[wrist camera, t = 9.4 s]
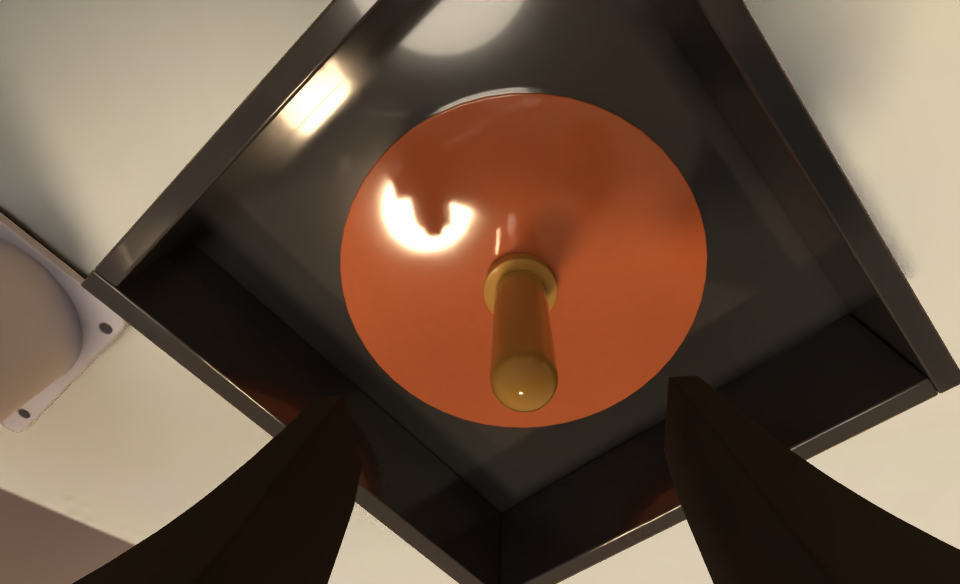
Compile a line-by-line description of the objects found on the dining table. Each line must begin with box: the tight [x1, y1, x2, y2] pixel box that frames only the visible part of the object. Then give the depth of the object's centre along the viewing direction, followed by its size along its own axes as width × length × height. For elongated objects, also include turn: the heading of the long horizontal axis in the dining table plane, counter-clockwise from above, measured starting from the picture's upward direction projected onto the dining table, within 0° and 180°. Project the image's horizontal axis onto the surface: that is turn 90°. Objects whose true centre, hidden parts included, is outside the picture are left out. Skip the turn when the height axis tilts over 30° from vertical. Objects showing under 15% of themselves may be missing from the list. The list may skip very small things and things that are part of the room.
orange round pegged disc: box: [340, 90, 707, 428], centre depth 16 cm, size 13×13×7 cm
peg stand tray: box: [81, 0, 960, 584], centre depth 18 cm, size 19×20×5 cm
